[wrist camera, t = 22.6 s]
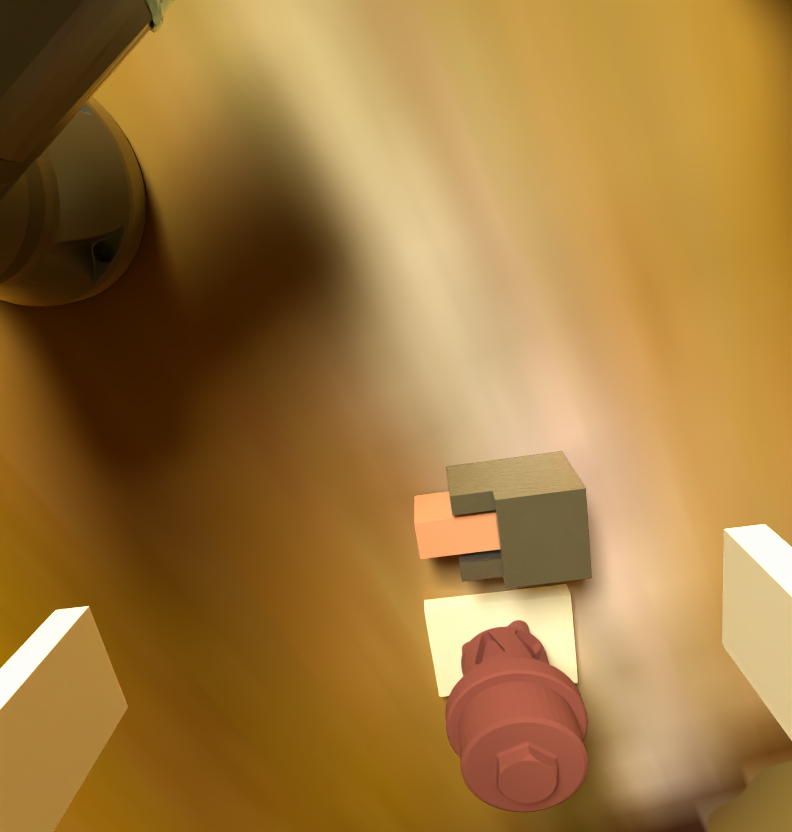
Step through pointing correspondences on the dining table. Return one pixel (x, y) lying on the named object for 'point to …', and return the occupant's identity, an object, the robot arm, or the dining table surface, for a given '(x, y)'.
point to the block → (479, 612)
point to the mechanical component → (516, 722)
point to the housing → (525, 519)
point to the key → (451, 528)
